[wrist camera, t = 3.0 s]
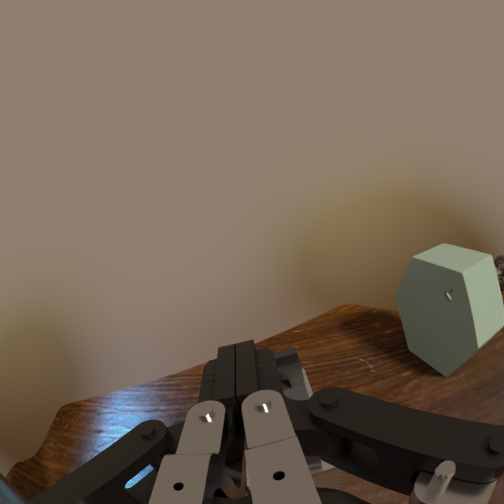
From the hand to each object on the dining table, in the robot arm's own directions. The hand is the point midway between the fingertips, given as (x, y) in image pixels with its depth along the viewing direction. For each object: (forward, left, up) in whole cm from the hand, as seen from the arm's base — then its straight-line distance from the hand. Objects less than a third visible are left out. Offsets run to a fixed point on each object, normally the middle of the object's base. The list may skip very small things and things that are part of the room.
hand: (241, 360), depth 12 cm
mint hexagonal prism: (+17, +31, -25) cm, 43 cm away
